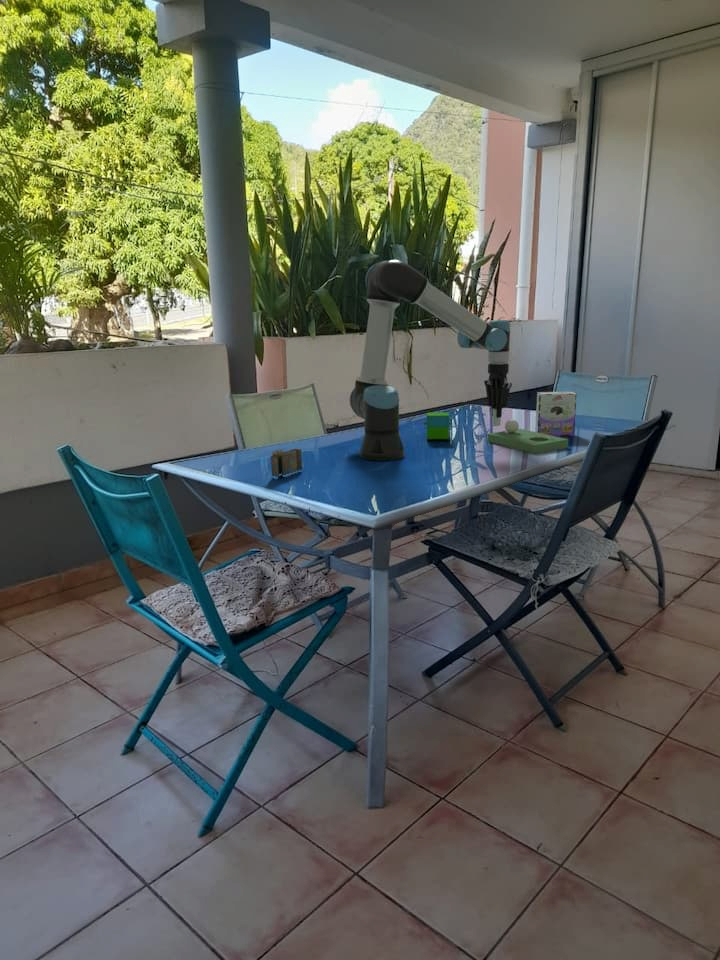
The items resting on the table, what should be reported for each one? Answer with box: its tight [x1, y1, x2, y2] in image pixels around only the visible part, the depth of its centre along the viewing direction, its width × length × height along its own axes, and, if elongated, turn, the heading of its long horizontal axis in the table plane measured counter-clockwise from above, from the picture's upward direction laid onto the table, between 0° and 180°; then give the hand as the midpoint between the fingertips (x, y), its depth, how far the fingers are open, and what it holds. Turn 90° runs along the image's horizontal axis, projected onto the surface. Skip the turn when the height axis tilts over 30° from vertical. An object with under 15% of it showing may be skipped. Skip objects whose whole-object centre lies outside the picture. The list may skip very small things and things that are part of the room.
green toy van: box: [424, 412, 452, 442], centre depth 253 cm, size 10×13×10 cm
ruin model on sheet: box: [270, 448, 303, 478], centre depth 205 cm, size 11×3×10 cm, turn 145°
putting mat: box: [486, 428, 569, 454], centre depth 240 cm, size 16×24×3 cm, turn 30°
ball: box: [504, 418, 520, 433], centre depth 245 cm, size 5×5×5 cm
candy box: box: [534, 391, 577, 437], centre depth 252 cm, size 14×6×16 cm, turn 84°
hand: (496, 425), depth 253 cm, fingers closed
